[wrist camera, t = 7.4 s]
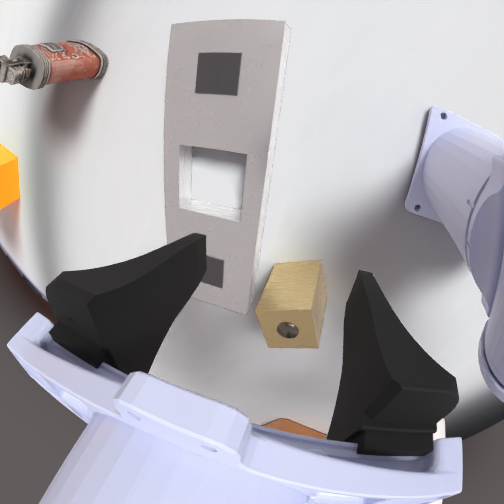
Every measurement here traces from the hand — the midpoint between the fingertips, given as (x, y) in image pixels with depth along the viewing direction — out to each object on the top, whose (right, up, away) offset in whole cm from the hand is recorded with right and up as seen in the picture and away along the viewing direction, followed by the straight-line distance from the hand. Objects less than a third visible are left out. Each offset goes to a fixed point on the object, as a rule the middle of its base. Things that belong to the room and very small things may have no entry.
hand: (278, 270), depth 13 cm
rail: (-4, +7, +9) cm, 12 cm away
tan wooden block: (+3, -2, +12) cm, 12 cm away
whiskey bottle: (+6, -32, +30) cm, 44 cm away
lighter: (-18, +20, +6) cm, 27 cm away
